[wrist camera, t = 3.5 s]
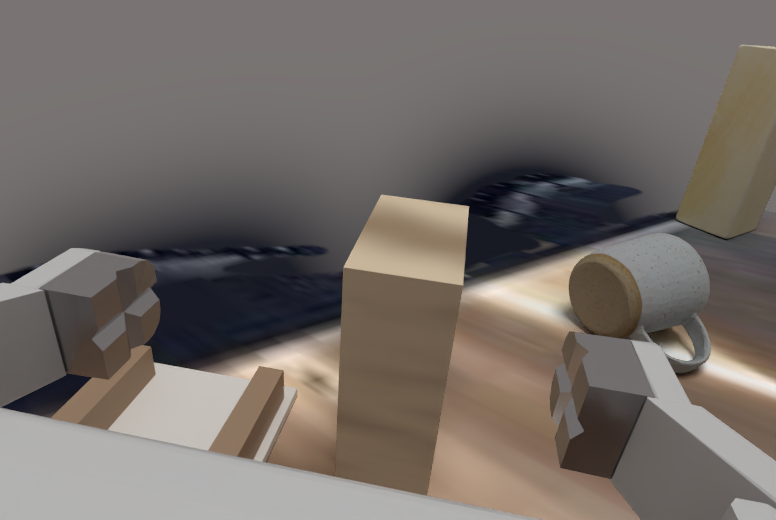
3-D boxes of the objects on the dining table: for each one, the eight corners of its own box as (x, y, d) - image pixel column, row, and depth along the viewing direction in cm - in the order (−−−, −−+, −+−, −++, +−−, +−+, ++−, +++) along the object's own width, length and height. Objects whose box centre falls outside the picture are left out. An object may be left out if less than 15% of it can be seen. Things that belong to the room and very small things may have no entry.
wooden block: (366, 398, 33) (381, 194, 26) (435, 411, 32) (468, 206, 26) (333, 507, 26) (343, 267, 19) (421, 526, 25) (462, 285, 19)
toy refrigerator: (699, 208, 70) (765, 44, 60) (756, 229, 65) (838, 53, 55) (668, 217, 66) (732, 43, 56) (725, 240, 60) (808, 52, 51)
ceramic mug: (552, 310, 44) (575, 230, 40) (617, 293, 47) (644, 218, 44) (657, 392, 36) (699, 302, 32) (726, 364, 39) (771, 279, 36)
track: (137, 366, 34) (130, 332, 32) (297, 395, 32) (296, 361, 31) (-241, 768, 16) (-290, 730, 15) (76, 865, 15) (53, 833, 14)
